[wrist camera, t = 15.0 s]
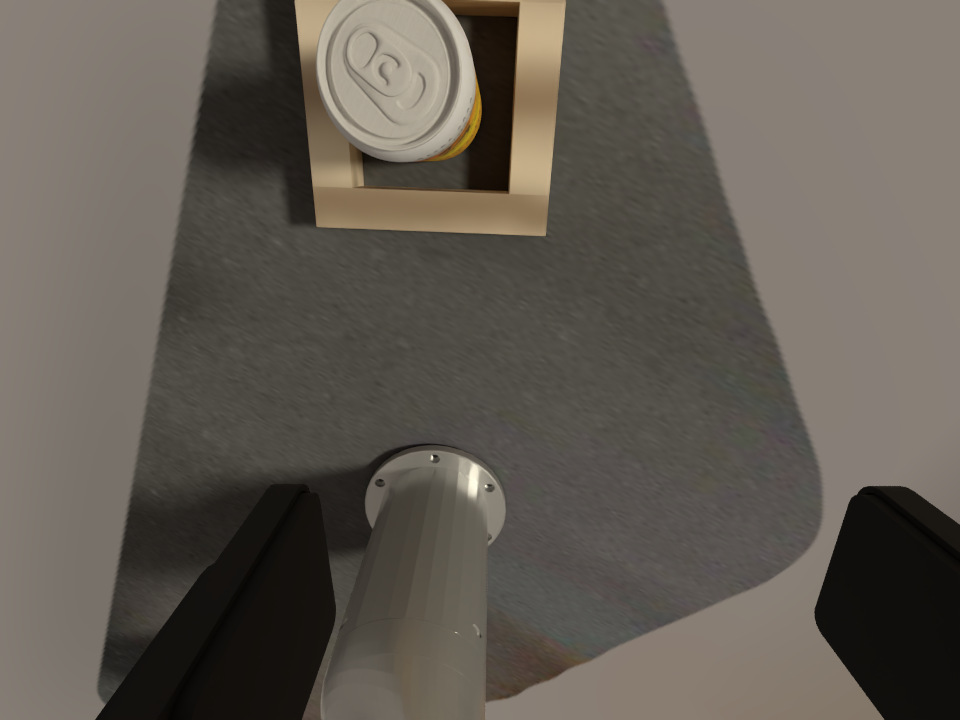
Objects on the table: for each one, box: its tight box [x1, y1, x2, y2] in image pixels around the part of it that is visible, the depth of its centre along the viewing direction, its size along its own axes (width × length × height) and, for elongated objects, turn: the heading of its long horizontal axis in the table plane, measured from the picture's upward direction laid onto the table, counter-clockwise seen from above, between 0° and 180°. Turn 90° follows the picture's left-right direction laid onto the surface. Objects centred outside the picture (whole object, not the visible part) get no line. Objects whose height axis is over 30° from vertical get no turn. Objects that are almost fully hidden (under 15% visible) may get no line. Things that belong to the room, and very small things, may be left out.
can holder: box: [295, 0, 566, 236], centre depth 30 cm, size 15×15×3 cm
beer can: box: [316, 0, 482, 162], centre depth 24 cm, size 6×6×15 cm
